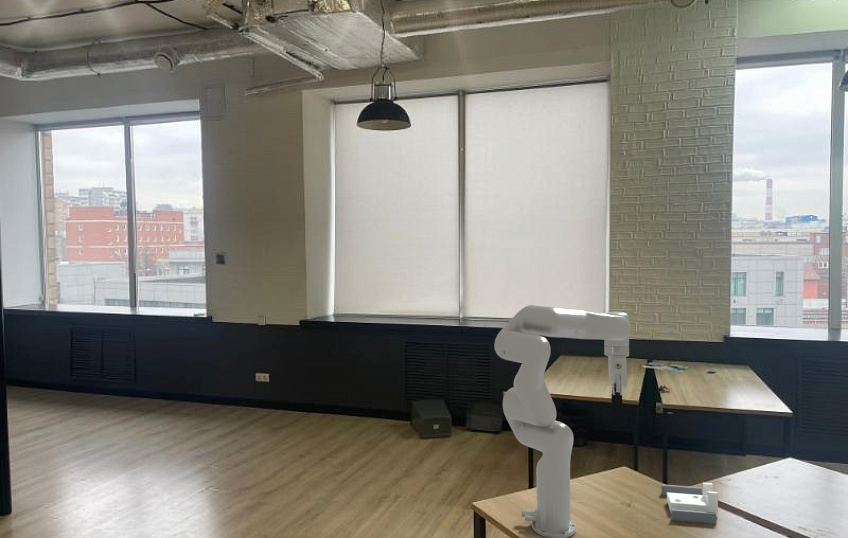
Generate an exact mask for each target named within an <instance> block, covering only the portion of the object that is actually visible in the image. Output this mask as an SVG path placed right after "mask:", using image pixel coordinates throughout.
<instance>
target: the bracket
mask: <svg viewBox="0 0 848 538" xmlns="http://www.w3.org/2000/svg"><path fill="white" fill-rule="evenodd" d="M718 499H719V493H718V492H717V491H714V485H713V483H712V482H702V495H694V494H681V493H669V492H667V495H666V503H667V504H668V509H669V512H670V513H671V509H680V510H692V511H704V512H715V513H716V518H718V515H719V512H718V511H719V505H718V504H719V500H718Z"/></svg>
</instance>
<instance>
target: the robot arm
mask: <svg viewBox="0 0 848 538" xmlns="http://www.w3.org/2000/svg"><path fill="white" fill-rule="evenodd" d="M631 327H632V326H631V324H630V317H629V314H628V313H626V312H623V311H609V312H607V313H606V312H605V313H597V312H592V311H587V310H582V309H574V308H563V307H553V306H552V307H551V306H545V305H544V306H543V305H535V304H534V305H532V304H530V305H529V304H528V305H526V306H524V307H523V308H521V309H519V311H518V312H516V313H515V315H514V316H513V317H512V318H511V319H510V320H509V321H508V322H507V323H506V324H505V325H504V327H503V328H502V329H500V331H499V332H498V334H497V335H496V337H495V339H494V345H493V346H494V351H495V353H496V354H497V356H498V357H500V358H501V359H503V360H505V361H510V362H515V363H519V364H520V363H521V365H520V366H519V369H518V372H517V373H516V375H515V377H514V379H513V387H511V388H509V389H508V390H507V391H506V392H505V393H504V396H503V400H502V409H503V410H502V411H503V414H504V416H505V418H506V421H507V422H508V425H509V427H510V428H511V431H512V432H513V434H514V437H515V439H516V440H517V441H518V442H519V443H520V444H521V445H524V446H525V447H527V448H531V449H534V450H537V451H539V452H541V453H542V456H541V457H540V459H539V460H538V461H537V464H536V469H535V471H536V472H535V473H536V507H535V509H532V510H527V509H521V518H524V519H525V521H527V522H528V521H530V522H531V528H532V530H533V531H534V532H535V533H537V534H538V535H540V536H542V537H545V538H569V537H572V536H573V535H575V534H576V533H577V532H576V531H577V524H576V523H575V521H574V520H572V518H571V458H572V457H571V456H572V451H573V450H572V449H573V447H574V433H573V431H572V429H571V428H570V427H569V425H567V424H565V423H563V422H561V421H558V420H556V419H557V410H556V405H555V403H554V400H553V399H552V396H551V394H550V392H549V390H548V387H547V385H546V382H545V378H544V377H545V376H544V375H545V371H546V368H547V366H548V362H549V360H550V357H551V351H552V350H551V345H550V342H549V340H548V339H547V338H546V337H549V338H563V339H564V338H566V339H579V340H603V341H604V343H603V344H604V353H603V354H604V356H606V357H607V359H608V360H607V361H608V362H607V363H608V379H609V383H610V386H611V395H610V396H611V397H610V400H611V407H612V408H623V388H628V374H627V373H628V372H627V366H628V365H627V357H629V356H630V333H631Z"/></svg>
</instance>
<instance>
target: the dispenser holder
mask: <svg viewBox="0 0 848 538" xmlns="http://www.w3.org/2000/svg"><path fill="white" fill-rule="evenodd" d="M667 492H669V493H681V494H694V495H703V486H702V487H701V486H690V485H689V486H688V485H677V484H676V485H674V484H662V483H661V495H662V496H667ZM670 515H671V519H670V520H671V521H677V522H689V523H690V522H691V523H697V524H698V523H700V524H701V523H702V524H712V525H716V524H717V517H716V513H715V512H704V511H692V510H680V509H671V512H670Z"/></svg>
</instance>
